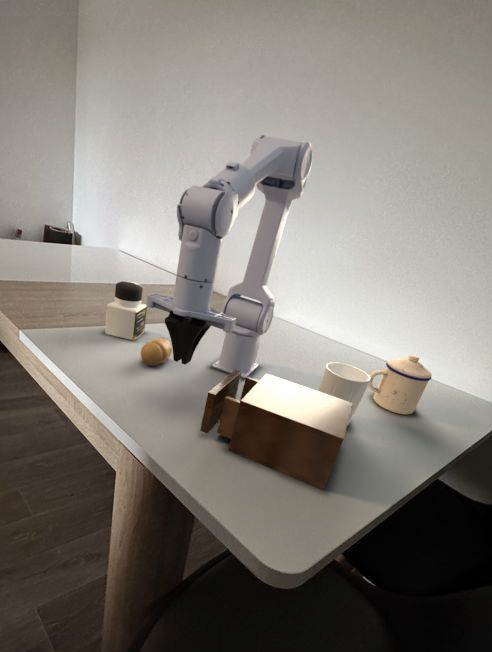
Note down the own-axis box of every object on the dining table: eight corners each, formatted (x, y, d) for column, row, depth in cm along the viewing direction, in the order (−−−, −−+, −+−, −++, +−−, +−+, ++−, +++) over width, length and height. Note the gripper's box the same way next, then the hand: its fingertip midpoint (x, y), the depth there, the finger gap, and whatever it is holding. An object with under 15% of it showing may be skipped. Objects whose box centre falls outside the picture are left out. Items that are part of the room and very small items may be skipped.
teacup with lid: (403, 398, 90) (424, 352, 85) (422, 418, 82) (446, 368, 77) (354, 389, 89) (372, 342, 84) (367, 409, 81) (389, 358, 76)
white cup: (351, 416, 77) (370, 370, 72) (351, 435, 70) (371, 386, 65) (312, 404, 78) (327, 358, 74) (307, 421, 71) (324, 372, 67)
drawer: (193, 428, 60) (200, 389, 58) (221, 401, 70) (229, 366, 67) (283, 465, 56) (296, 425, 53) (300, 430, 66) (311, 395, 63)
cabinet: (228, 450, 59) (240, 400, 55) (254, 416, 69) (266, 373, 66) (323, 490, 54) (343, 439, 51) (335, 447, 65) (353, 403, 61)
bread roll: (155, 353, 86) (157, 333, 84) (174, 360, 85) (177, 340, 83) (134, 363, 79) (137, 341, 77) (155, 371, 78) (158, 349, 76)
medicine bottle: (133, 341, 90) (138, 289, 85) (104, 333, 91) (107, 282, 86) (144, 332, 97) (149, 284, 91) (117, 325, 97) (121, 277, 92)
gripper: (139, 267, 57) (130, 353, 63) (230, 293, 52) (211, 383, 58) (164, 264, 63) (154, 343, 69) (247, 287, 58) (229, 369, 64)
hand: (182, 360), depth 64 cm, fingers closed
